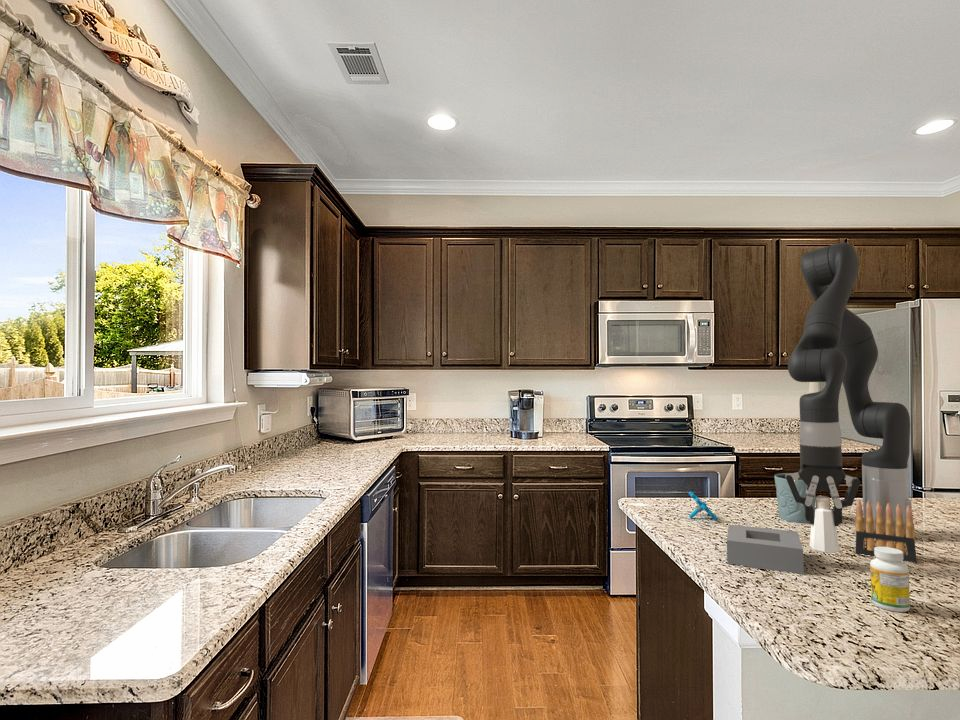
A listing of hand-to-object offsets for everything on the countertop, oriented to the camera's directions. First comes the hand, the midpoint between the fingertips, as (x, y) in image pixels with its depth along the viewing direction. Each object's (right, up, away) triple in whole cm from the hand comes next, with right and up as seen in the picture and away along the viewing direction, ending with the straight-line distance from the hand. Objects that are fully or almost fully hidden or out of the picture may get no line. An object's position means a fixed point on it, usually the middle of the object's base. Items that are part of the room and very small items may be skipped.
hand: (823, 523), depth 114 cm
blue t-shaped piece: (-10, -10, +38) cm, 40 cm away
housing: (-11, -9, +4) cm, 14 cm away
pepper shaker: (0, -6, 0) cm, 6 cm away
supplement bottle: (-2, -8, -21) cm, 22 cm away
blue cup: (+16, -10, +36) cm, 41 cm away
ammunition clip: (+17, -9, +5) cm, 19 cm away
